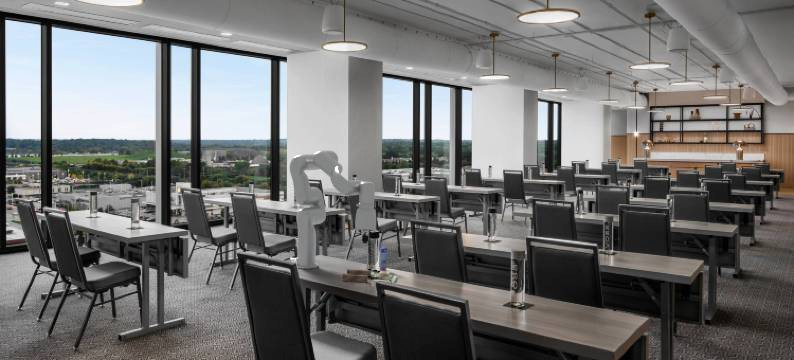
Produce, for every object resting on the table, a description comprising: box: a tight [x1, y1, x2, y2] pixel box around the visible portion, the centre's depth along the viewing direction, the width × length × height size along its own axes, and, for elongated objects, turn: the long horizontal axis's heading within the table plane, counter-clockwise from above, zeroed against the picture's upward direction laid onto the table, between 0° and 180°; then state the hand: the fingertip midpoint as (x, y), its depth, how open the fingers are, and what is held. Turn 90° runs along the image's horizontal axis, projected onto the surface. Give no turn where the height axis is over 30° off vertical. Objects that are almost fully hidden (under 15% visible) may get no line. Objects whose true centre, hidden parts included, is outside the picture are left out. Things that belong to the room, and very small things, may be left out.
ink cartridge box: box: [365, 242, 388, 271], centre depth 307 cm, size 10×6×14 cm, turn 54°
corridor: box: [342, 268, 372, 283], centre depth 288 cm, size 12×12×3 cm
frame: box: [372, 274, 398, 284], centre depth 287 cm, size 10×12×1 cm
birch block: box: [378, 270, 391, 281], centre depth 287 cm, size 5×5×4 cm
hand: (365, 242), depth 289 cm, fingers closed
